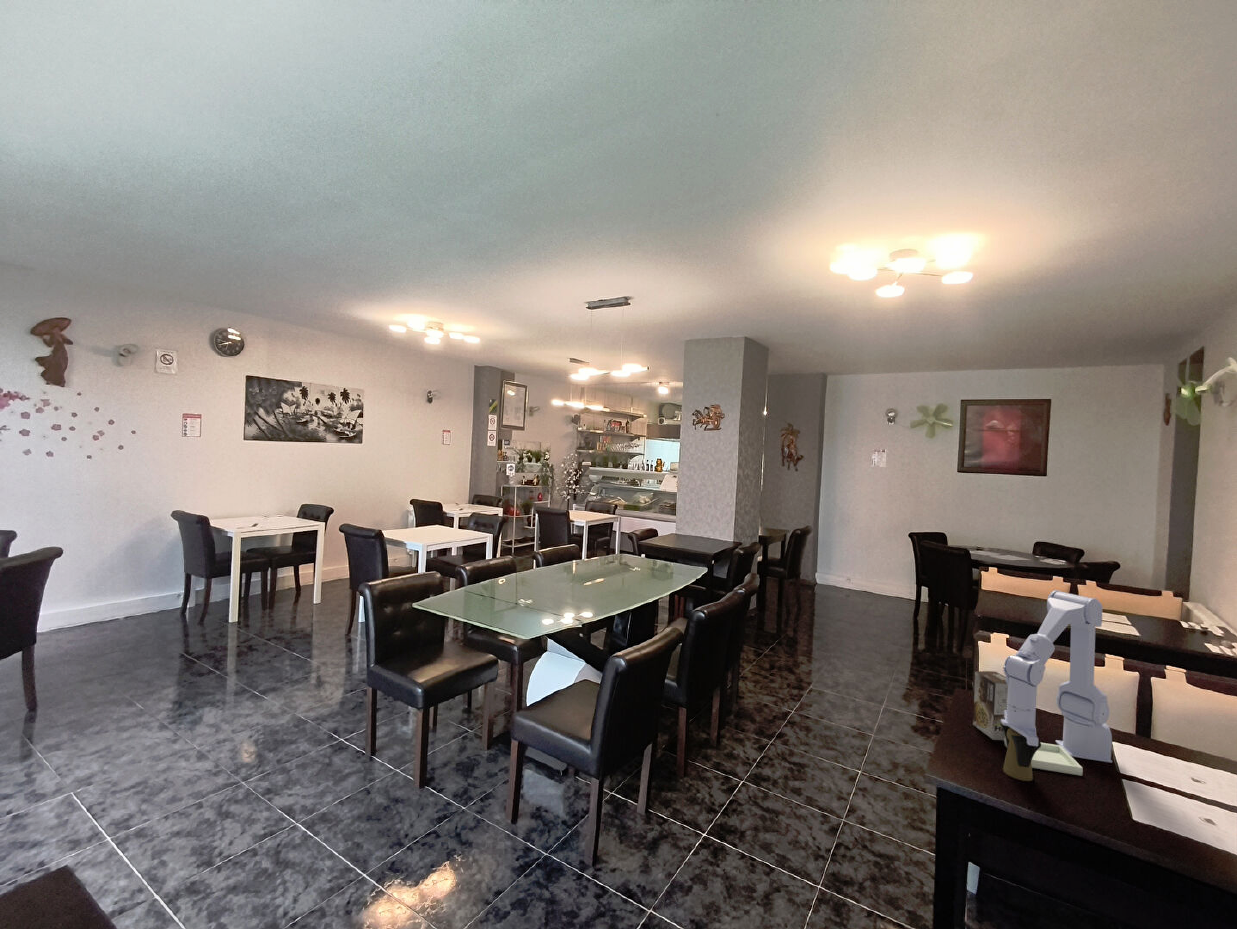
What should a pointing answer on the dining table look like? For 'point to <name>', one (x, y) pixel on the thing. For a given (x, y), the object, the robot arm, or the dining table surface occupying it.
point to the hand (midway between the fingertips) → (1018, 760)
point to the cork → (1015, 761)
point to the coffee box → (990, 703)
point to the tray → (1054, 759)
